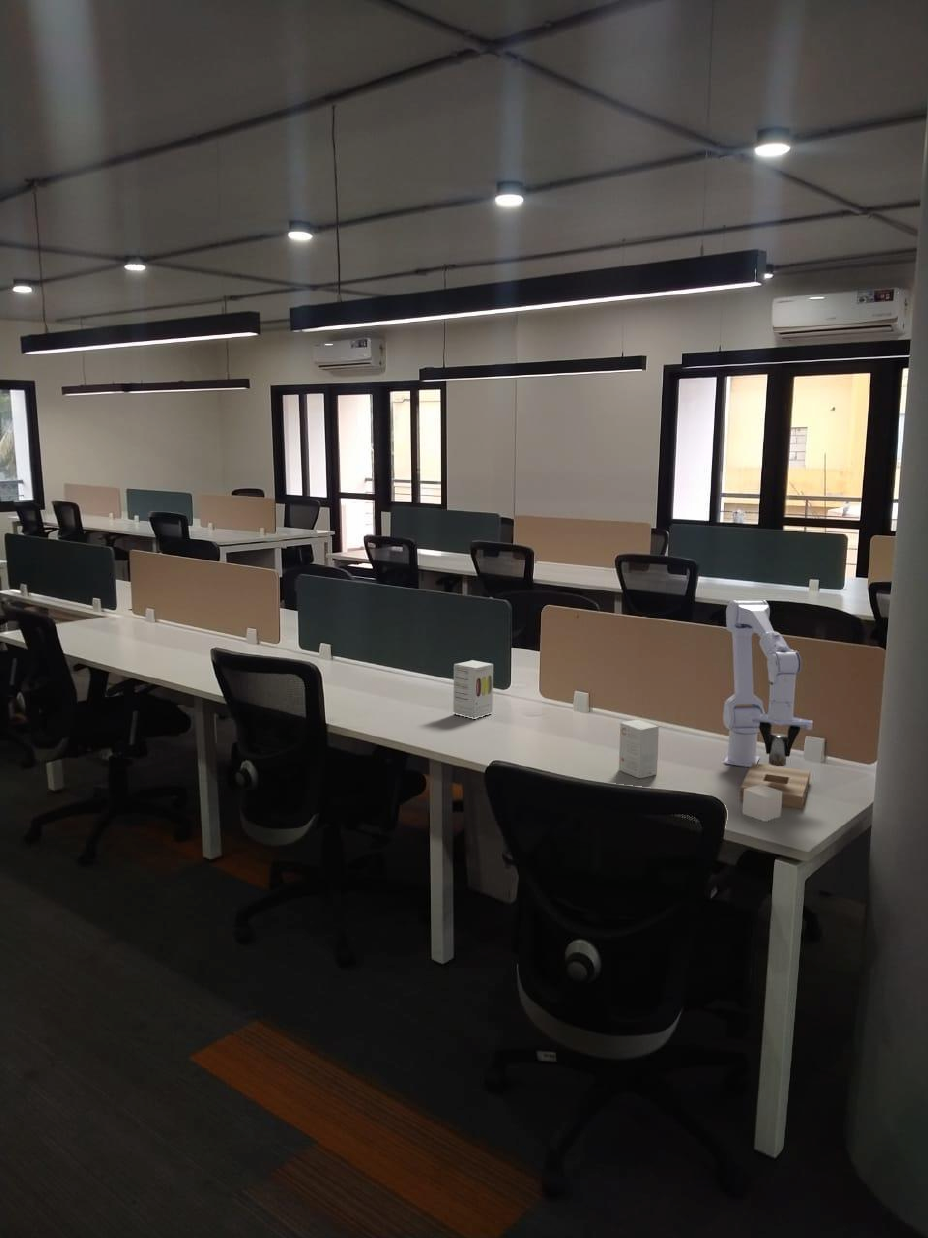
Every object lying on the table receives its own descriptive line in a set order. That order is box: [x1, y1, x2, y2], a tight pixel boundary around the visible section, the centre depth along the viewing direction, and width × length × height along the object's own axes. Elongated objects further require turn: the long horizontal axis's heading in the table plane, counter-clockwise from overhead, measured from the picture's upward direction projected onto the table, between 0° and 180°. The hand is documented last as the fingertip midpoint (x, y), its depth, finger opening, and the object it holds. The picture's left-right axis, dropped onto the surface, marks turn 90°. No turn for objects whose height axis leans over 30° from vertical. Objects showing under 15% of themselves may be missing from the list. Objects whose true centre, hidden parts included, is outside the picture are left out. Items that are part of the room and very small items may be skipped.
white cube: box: [742, 784, 783, 822], centre depth 203 cm, size 6×6×6 cm
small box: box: [618, 719, 660, 779], centre depth 231 cm, size 8×6×13 cm
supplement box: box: [452, 659, 494, 718], centre depth 284 cm, size 10×9×17 cm
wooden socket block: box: [739, 763, 811, 810], centre depth 219 cm, size 20×14×3 cm
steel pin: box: [768, 733, 788, 767], centre depth 217 cm, size 4×4×7 cm
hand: (777, 754), depth 218 cm, fingers closed on steel pin, 4 cm apart
